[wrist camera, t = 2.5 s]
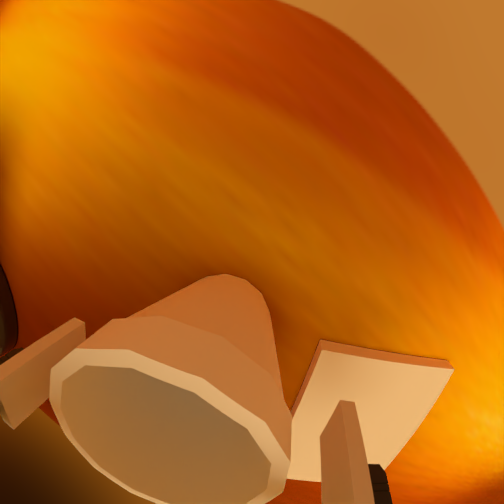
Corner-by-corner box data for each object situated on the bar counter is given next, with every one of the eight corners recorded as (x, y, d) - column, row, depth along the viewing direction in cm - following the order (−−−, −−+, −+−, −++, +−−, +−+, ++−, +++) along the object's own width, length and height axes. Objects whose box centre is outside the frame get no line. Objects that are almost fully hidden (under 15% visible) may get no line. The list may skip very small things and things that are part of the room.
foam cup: (310, 275, 19) (340, 412, 7) (270, 382, 21) (249, 528, 9) (176, 235, 20) (35, 301, 7) (157, 345, 22) (66, 457, 9)
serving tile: (265, 464, 24) (264, 474, 22) (320, 339, 20) (321, 349, 19) (370, 473, 23) (372, 483, 21) (447, 360, 19) (454, 369, 18)
